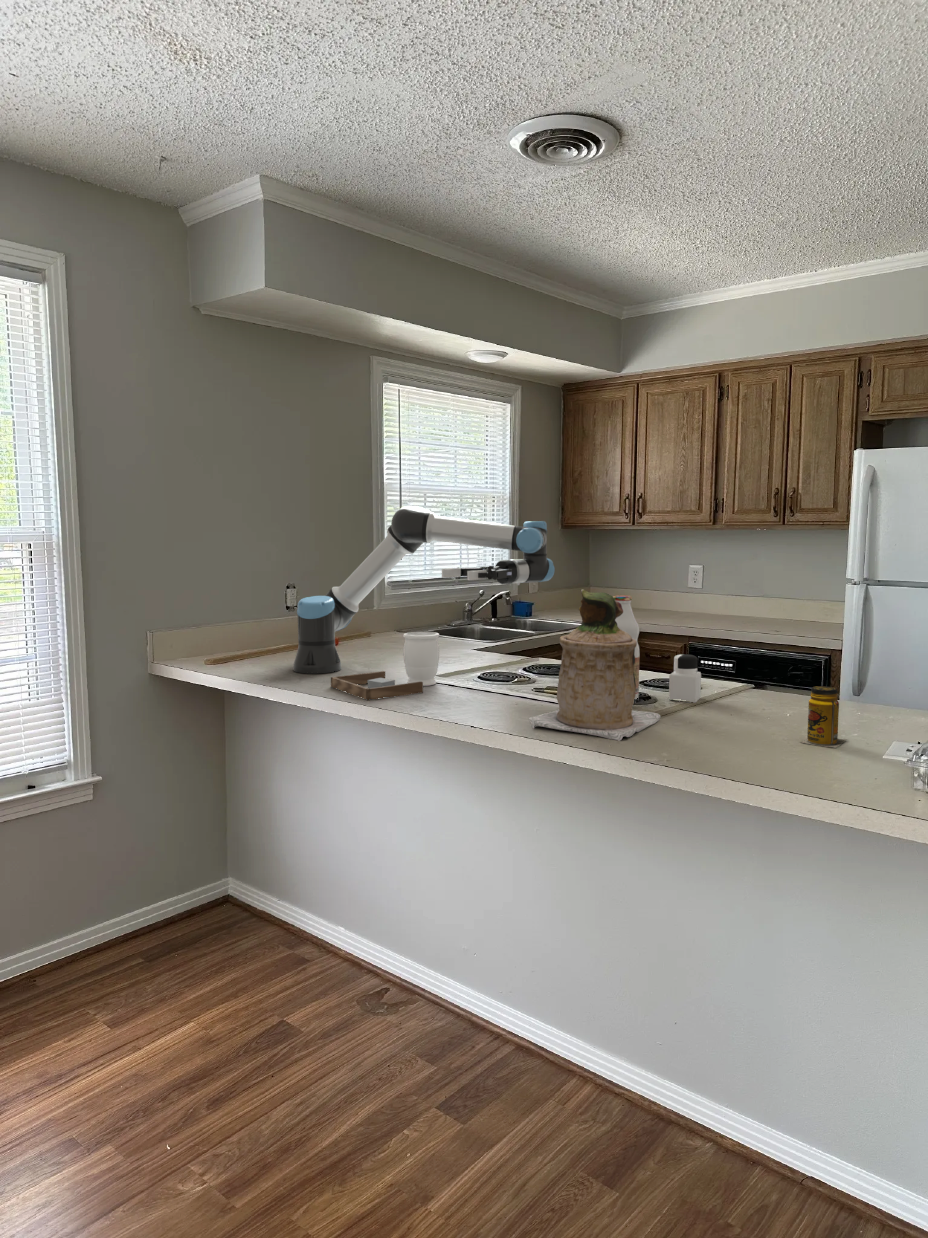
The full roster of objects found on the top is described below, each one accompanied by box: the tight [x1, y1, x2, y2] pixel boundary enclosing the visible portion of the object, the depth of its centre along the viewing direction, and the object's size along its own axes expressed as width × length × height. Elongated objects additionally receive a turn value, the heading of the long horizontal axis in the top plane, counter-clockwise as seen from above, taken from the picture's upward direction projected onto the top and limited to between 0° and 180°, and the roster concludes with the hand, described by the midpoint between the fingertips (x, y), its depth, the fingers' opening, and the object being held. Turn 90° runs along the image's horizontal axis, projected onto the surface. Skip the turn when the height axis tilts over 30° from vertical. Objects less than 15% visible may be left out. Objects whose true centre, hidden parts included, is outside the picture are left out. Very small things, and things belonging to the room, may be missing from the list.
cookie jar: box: [528, 588, 661, 741], centre depth 200 cm, size 25×25×32 cm
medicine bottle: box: [668, 653, 702, 704], centre depth 228 cm, size 7×7×12 cm
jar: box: [402, 631, 440, 687], centre depth 251 cm, size 11×10×15 cm
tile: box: [367, 677, 396, 688], centre depth 243 cm, size 6×5×3 cm
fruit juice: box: [612, 594, 640, 699], centre depth 226 cm, size 9×9×28 cm
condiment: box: [800, 685, 849, 749], centre depth 184 cm, size 7×8×12 cm
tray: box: [330, 670, 424, 701], centre depth 243 cm, size 22×18×3 cm
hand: (454, 574), depth 255 cm, fingers open, 13 cm apart
